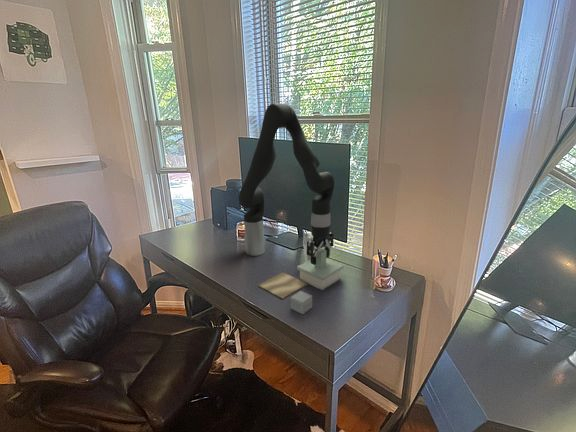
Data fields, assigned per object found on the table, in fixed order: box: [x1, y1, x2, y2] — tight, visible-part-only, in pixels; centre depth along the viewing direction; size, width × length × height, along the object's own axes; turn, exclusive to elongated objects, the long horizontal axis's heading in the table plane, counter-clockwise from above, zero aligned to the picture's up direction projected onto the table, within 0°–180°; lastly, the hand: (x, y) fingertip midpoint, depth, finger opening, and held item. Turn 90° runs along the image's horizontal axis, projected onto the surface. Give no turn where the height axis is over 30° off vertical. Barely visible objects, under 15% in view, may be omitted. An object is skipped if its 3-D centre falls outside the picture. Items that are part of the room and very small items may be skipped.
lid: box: [296, 248, 345, 280], centre depth 129 cm, size 14×14×8 cm
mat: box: [257, 272, 308, 300], centre depth 128 cm, size 14×14×1 cm
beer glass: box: [302, 231, 317, 263], centre depth 142 cm, size 7×7×15 cm
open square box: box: [299, 269, 342, 291], centre depth 131 cm, size 12×12×5 cm
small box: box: [290, 290, 313, 315], centre depth 113 cm, size 6×6×5 cm
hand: (320, 260), depth 129 cm, fingers open, 8 cm apart
